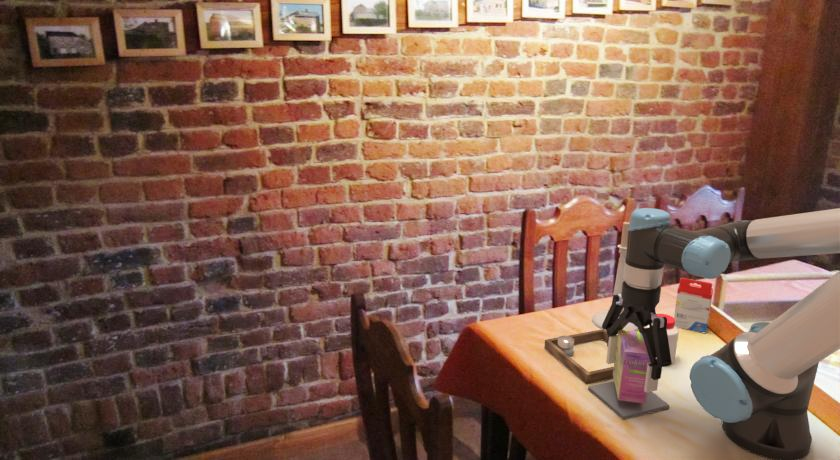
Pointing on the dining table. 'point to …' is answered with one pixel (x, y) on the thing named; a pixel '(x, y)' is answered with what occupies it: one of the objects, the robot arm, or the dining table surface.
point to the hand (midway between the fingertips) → (630, 375)
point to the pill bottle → (671, 335)
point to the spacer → (566, 344)
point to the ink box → (693, 305)
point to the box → (630, 366)
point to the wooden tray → (573, 365)
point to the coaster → (623, 408)
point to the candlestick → (617, 281)
